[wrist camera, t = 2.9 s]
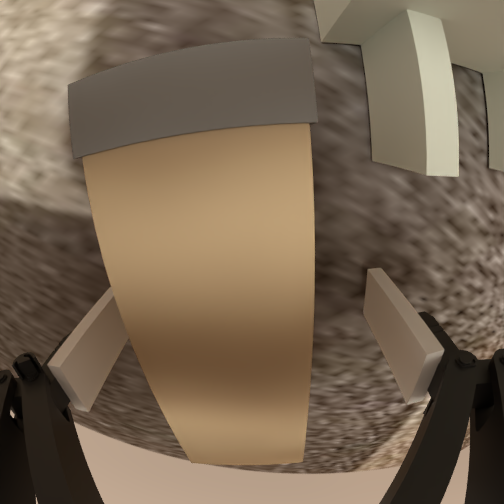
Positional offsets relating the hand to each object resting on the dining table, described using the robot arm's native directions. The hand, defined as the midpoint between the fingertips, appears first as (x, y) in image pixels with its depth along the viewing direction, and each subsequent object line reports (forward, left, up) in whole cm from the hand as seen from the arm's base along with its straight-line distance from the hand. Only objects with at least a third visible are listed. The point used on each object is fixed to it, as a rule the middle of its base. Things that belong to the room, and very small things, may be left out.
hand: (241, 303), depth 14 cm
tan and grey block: (0, +2, -1) cm, 2 cm away
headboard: (+12, +11, -1) cm, 16 cm away
